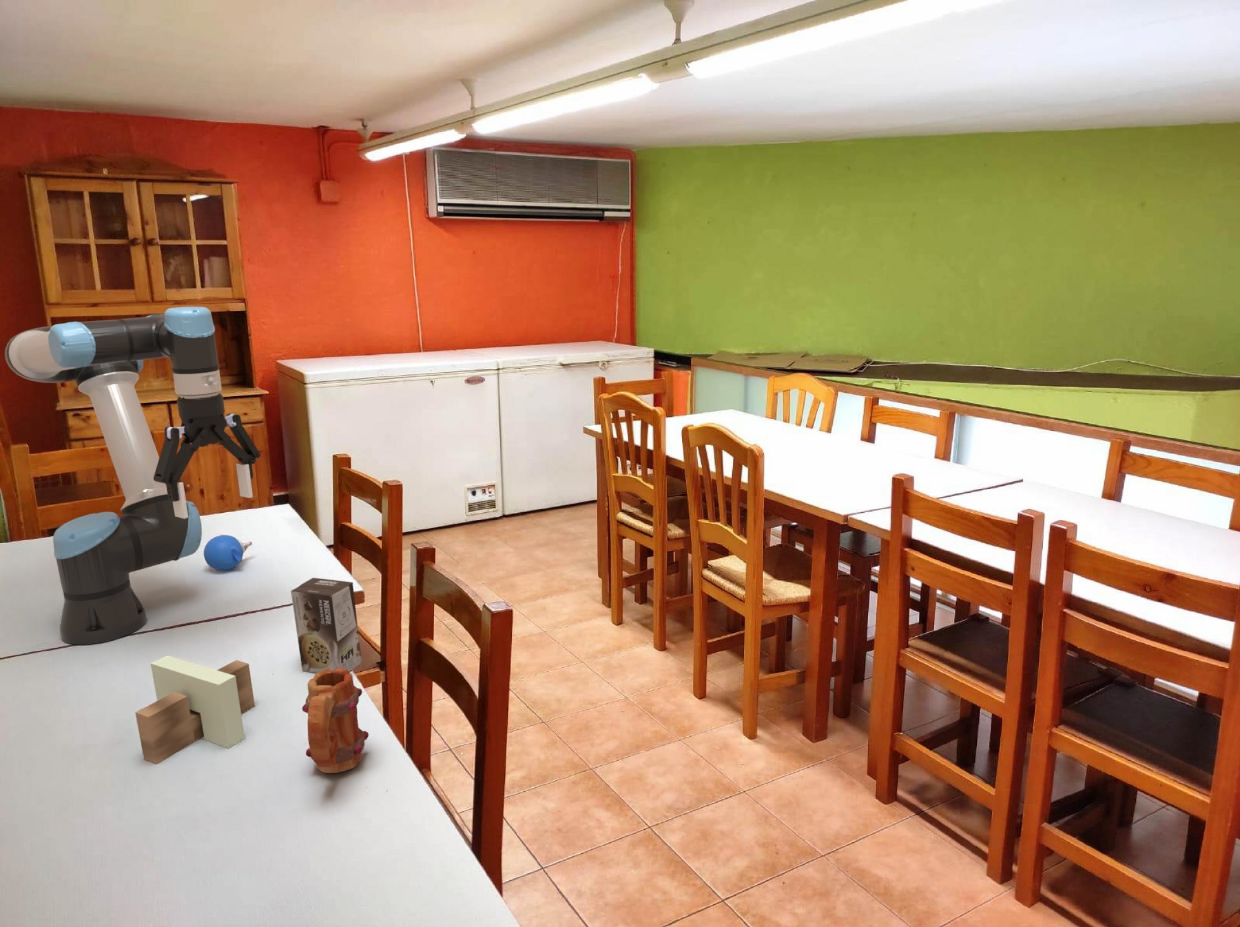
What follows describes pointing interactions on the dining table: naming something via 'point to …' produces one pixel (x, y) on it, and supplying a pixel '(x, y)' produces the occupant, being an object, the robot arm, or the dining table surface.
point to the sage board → (203, 697)
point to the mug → (334, 721)
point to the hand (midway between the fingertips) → (215, 506)
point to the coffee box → (326, 625)
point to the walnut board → (183, 718)
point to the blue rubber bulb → (224, 552)
